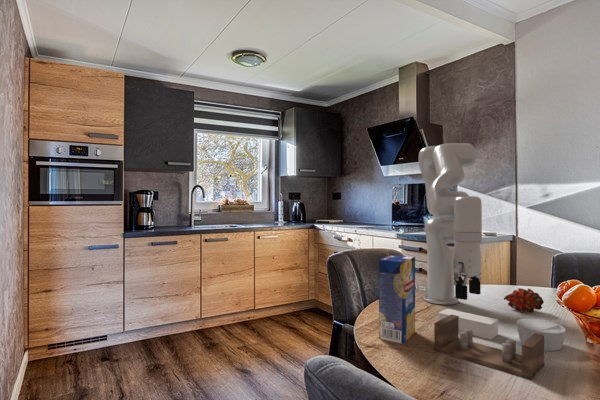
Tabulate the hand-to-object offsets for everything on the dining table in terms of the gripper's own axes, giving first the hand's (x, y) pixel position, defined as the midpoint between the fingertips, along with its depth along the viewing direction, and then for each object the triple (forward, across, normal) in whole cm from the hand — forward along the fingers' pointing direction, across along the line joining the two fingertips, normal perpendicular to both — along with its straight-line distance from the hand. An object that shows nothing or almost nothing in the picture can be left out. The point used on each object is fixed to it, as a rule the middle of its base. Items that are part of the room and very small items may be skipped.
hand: (468, 296), depth 110 cm
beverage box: (+11, +18, -13) cm, 24 cm away
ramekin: (+11, -4, +17) cm, 21 cm away
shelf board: (+10, -1, -1) cm, 11 cm away
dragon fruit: (+10, -34, +5) cm, 36 cm away
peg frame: (+11, +15, +10) cm, 21 cm away
